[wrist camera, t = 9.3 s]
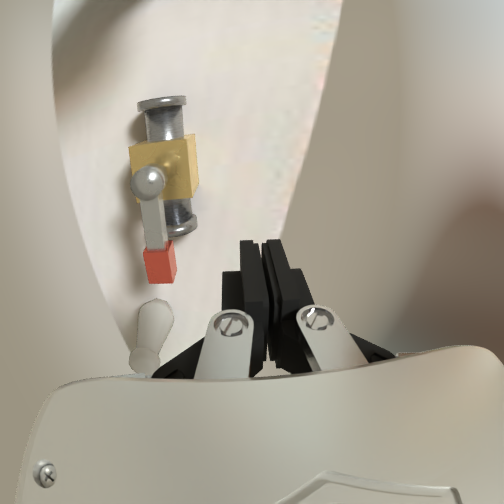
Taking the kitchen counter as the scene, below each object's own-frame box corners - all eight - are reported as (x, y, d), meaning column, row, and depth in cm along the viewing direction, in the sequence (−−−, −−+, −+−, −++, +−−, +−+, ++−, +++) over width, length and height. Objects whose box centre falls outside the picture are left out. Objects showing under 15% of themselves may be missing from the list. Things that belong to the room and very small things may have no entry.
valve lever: (137, 164, 25) (128, 170, 22) (166, 161, 25) (160, 167, 23) (152, 270, 30) (147, 283, 28) (178, 269, 30) (174, 283, 28)
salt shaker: (143, 318, 45) (124, 377, 34) (141, 292, 43) (118, 351, 31) (176, 323, 46) (164, 384, 35) (176, 296, 43) (162, 359, 32)
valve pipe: (142, 104, 30) (114, 103, 22) (192, 96, 30) (178, 92, 22) (157, 221, 37) (138, 252, 29) (202, 217, 38) (194, 248, 30)
